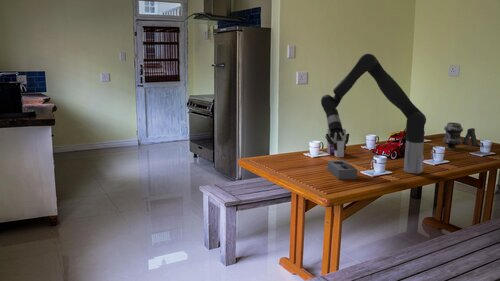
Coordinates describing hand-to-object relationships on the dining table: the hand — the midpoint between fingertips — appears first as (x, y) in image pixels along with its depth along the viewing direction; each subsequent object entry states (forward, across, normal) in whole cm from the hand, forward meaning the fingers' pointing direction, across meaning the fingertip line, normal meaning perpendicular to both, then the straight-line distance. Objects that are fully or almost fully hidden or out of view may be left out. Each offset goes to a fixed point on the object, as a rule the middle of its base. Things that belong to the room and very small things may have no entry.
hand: (340, 149), depth 230 cm
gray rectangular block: (+1, 0, +4) cm, 5 cm away
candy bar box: (-23, +13, +42) cm, 50 cm away
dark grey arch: (-35, +119, +53) cm, 135 cm away
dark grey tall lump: (-27, +98, +45) cm, 111 cm away
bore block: (+11, 0, +7) cm, 13 cm away
